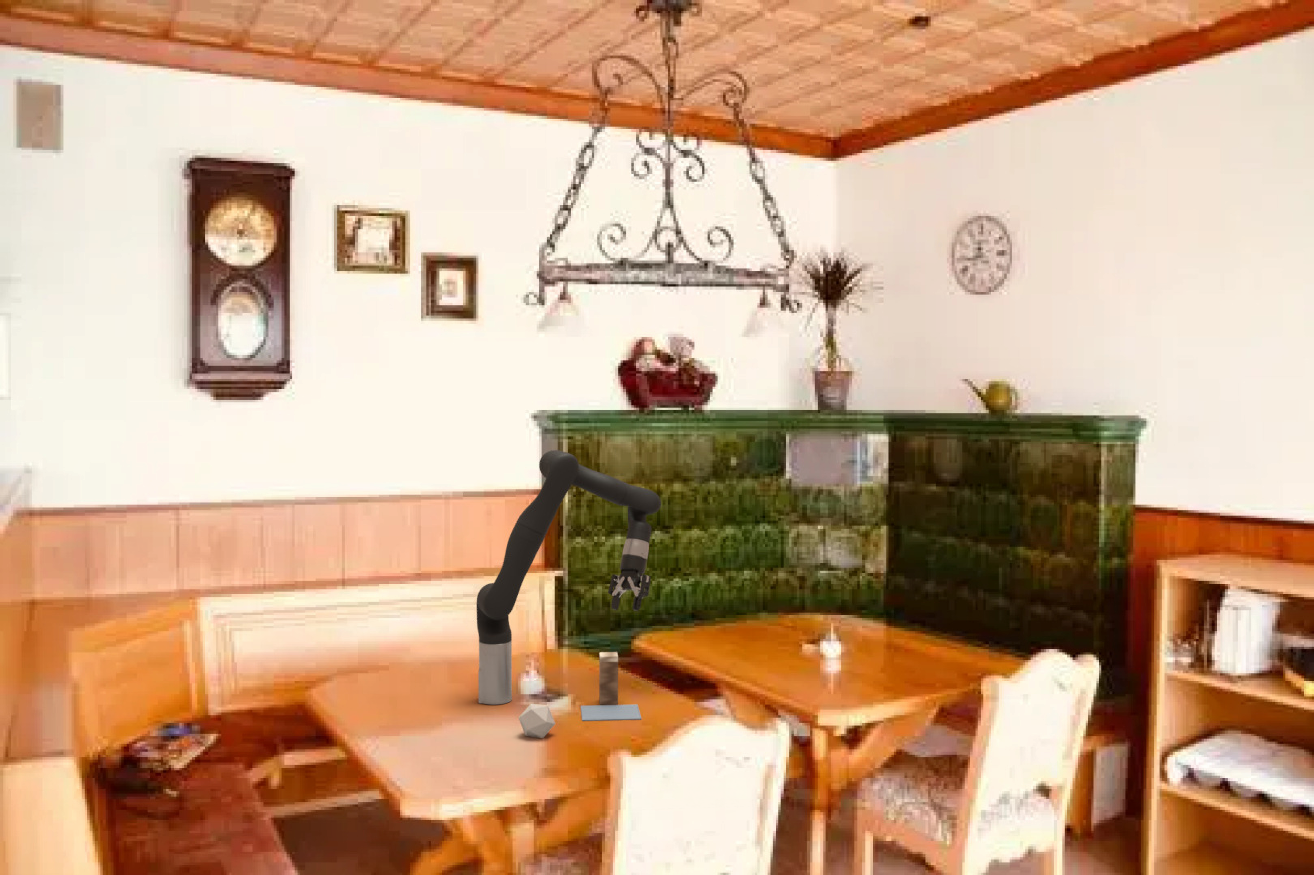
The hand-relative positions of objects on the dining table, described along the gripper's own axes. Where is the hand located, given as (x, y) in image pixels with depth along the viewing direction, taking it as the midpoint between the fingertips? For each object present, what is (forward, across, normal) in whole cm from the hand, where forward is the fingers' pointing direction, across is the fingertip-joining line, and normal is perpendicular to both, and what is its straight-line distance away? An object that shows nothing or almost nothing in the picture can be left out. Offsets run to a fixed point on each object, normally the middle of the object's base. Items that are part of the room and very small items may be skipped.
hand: (625, 610), depth 334 cm
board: (+30, +9, -8) cm, 33 cm away
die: (+40, +9, -32) cm, 53 cm away
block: (+27, +2, -2) cm, 27 cm away
